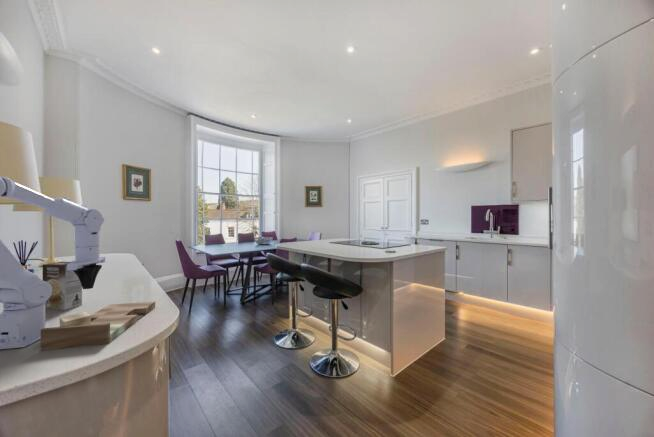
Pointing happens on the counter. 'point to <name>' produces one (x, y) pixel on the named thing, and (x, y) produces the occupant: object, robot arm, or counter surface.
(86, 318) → the birch block
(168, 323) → the counter surface
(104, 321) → the board
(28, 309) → the robot arm
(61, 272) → the coffee box
